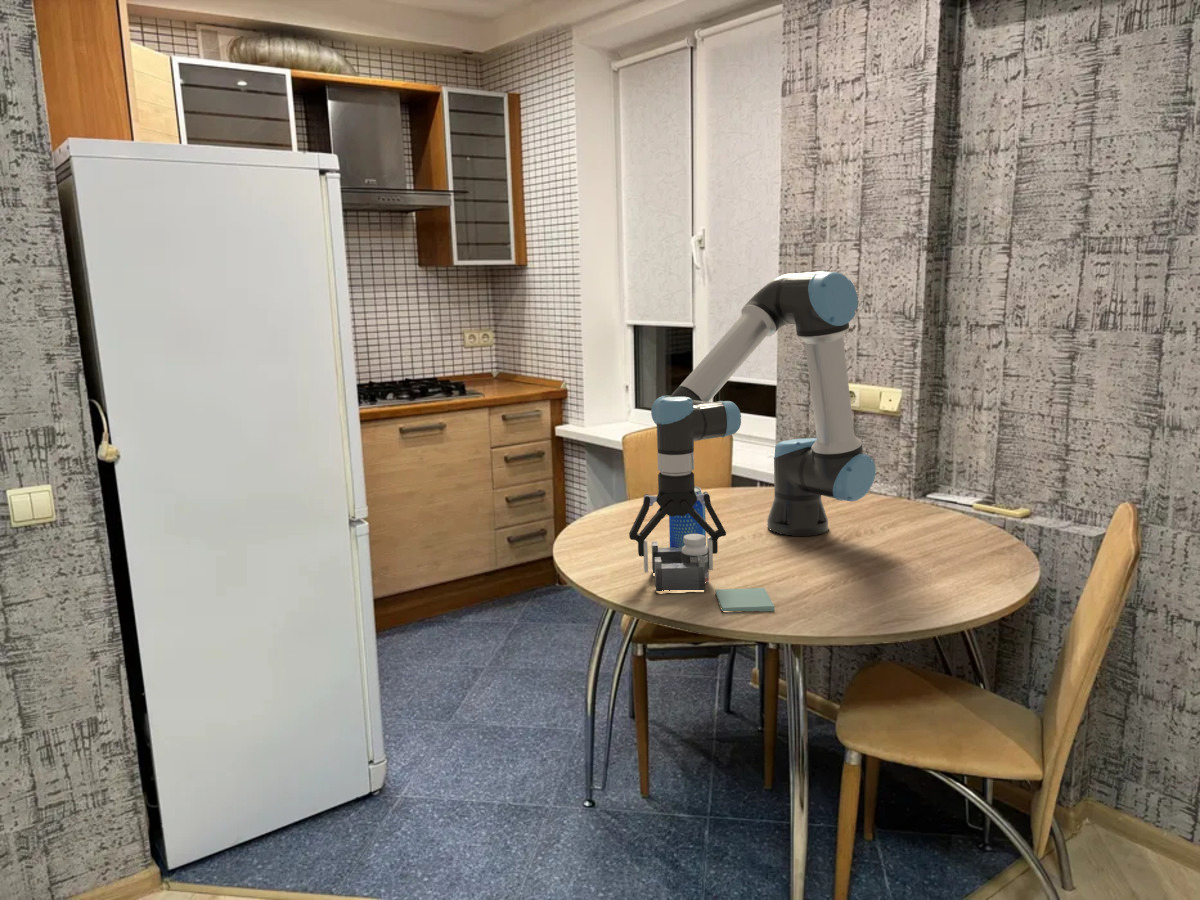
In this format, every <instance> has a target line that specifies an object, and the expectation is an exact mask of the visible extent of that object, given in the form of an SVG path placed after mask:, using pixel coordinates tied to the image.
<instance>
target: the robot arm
mask: <svg viewBox="0 0 1200 900" xmlns="http://www.w3.org/2000/svg"><path fill="white" fill-rule="evenodd" d="M858 299H859V298H858V294H857V289H856V288H855V285H854V283H853V282H852V280H851V279H850V278H848V277H847V276H846V275H845V274H843V273H841V272H837V271H826V270H822V271H811V272H810V271H809V272H808V271H807V272H798V273H797V272H791V273H789V272H788V273H786V274H783V275H780V276H778V277H776V278H774V279H773V280H771V281H770V282H768V283H767V284H765V285H764V286H763V287H762V288H760V290H758V291H757V292H756V293H755V294H754V295H753V296H752V297H751V298H750V299H749V301H747V303H746V304H745V305H744V306H743V307H742V309H741V312H740V313H741V316H740V317H739V318H738V319H737V320H736V321H735V322H734V324H733V325H731V327H730V328H729V329H728V330H727V332H726V333H725V334H724V335H723V336H722V337H721V338H720V339H719V341H717V343H716V344H715V345H714V346H713V348H711V350H710V351H709V352H708V353H707V354H706V356H704V358H702V359H701V361H699V363H698V364H697V366H696V367H695V368H694V369H693V370H692V371H691V372H690V373H689V374H688V376H686V378H685V379H684V380H683V381H682V382H681V384H680V385H679V386H678V387H677V388H676V389H675V390H674V391H673V392H672V394H670V395H669V394H667V395H661V396H660V397H657V399H655V400H654V402H653V404H652V405H651V410H650V411H651V412H650V413H651V420H653V421H652V422H654V424H655V425H656V441H657V443H656V445H657V446H656V448H657V471H659V473H658V474H657V483H658V484H657V485H658V487H657V488H658V492H657V495H649V494H648V493H645V494H644V495H643V500H642V501H643V502H642V506H641V507H640V510H639V512H638V514H637V516H636V518H635V520H634V522H633V524H632V526H631V528H630V531H629V533H628V536H629V539H630V540H631V541H636V542H637V555H638V556H639V557H643V571H644V573H649V557H648V555H649V554H648V553H649V551H648V550H649V549H648V548H649V547H648V540H647V538H648V536H649V535H650V534H651V532H653V531H654V530H655V528H656V527H657V525H659V523H660V522H661V521H662V520H664V518H665V517H666V516H668V517H669V516H676V515H679V516H685V515H686V514H688V513H689V514H690V515H691V516H692V517H693V518H694V519H695V520H696V521H697V522H698V523H699V525H700V526H701V527H702V528H703V529H704V530H705V531H706V534H708V535H709V536H706V547H707V548H708V558H709V571H713V570H714V568H713V566H714V565H713V564H714V560H713V559H714V558H713V557H714V556H713V555H714V554H716V555H717V554H718V552H719V550H718V549H719V548H718V547H719V546H718V544H719V543H718V540H719V539H720V538H721V537H726V535H727V531H726V530H725V527H724V526H723V524H722V522H721V520H720V518H719V516H718V515H717V513H716V511H715V510H714V507H713V506H712V501H711V496H710V494H709V493H708V491H704V492H702V494H698V495H696V494H695V491H694V486H695V473H694V472H693V471H694V470H695V459H694V458H695V451H694V450H695V445H694V444H695V442H697V441H703V440H709V439H710V440H711V439H717V438H725V437H728V436H733V435H735V434H736V433H737V432H738V431H739V430H740V428H741V426H742V414H741V410H740V409H739V407H738V405H736V403H734V402H733V401H730V400H724V401H723V400H718V401H711V400H712V399H713V398H714V397H715V395H717V394H718V393H719V391H720V390H722V388H723V387H724V385H725V384H726V383H727V382H728V381H729V380H730V379H731V378H732V376H733V375H734V374H735V373H736V372H737V371H738V369H740V367H741V366H742V365H743V364H744V363H745V361H746V360H747V359H748V358H749V357H750V356H751V354H752V353H753V352H754V351H755V350H756V349H757V348H758V346H759V345H760V344H761V343H762V342H763V341H764V340H765V338H766V337H772V336H773V335H775V334H776V332H777V331H779V329H780V328H782V327H784V326H786V325H795V331H796V332H795V333H796V336H797V338H799V339H800V340H801V341H802V342H804V347H805V348H804V349H805V354H806V355H805V357H806V363H807V364H806V365H807V371H808V380H809V387H810V396H811V403H812V404H811V405H812V409H813V411H812V412H813V420H814V427H815V434H816V435H815V436H816V437H815V438H814V437H812V438H811V437H809V438H808V437H807V438H794V439H788V440H783V441H779V442H778V443H777V444H775V448H774V457H773V475H774V476H773V477H774V478H773V479H774V480H773V482H774V484H773V485H774V486H773V487H774V497H773V498H774V499H773V502H772V506H771V507H770V511H769V513H768V517H767V523H766V525H767V526H768V527H767V529H768V528H769V529H771V530H772V531H774V532H773V533H775V532H777V533H776V534H778V533H781V534H780V535H782V534H785V536H789V535H792V537H793V536H794V537H810V536H811V537H812V536H818V535H823V534H824V533H826V532H827V531H829V520H828V517H827V516H828V515H827V514H826V510H825V507H824V504H823V502H822V500H823V499H822V496H823V497H826V498H830V499H835V500H837V501H845V502H856V501H859V500H861V499H862V498H863V497H865V496H866V495H867V494H868V493H869V491H870V489H871V487H872V486H873V484H874V481H875V479H876V474H877V473H876V472H877V471H876V470H877V468H876V463H875V460H874V459H873V458H872V457H871V456H870V455H868V454H866V453H864V449H863V442H862V439H860V438H859V437H858V436H856V435H855V429H854V421H853V420H854V419H853V413H852V404H851V402H852V401H851V394H850V384H849V377H848V367H847V358H846V351H845V342H844V336H845V335H846V333H847V332H848V330H849V329H850V322H851V321H852V320H853V319H854V317H855V316H856V311H857V310H858V304H859V301H858ZM697 500H699V501H700V502H701V504H705V509H706V510H707V512H708V514H709V516H710V517H711V519H712V521H713V524H714V525H715V527H716V528H717V530H715V529H713V527H712V526H711V525H710V524H709V523H708V522H707V521H705V520H704V519H703V518H702V517H701V516H700V515H699V514H698V512H697V511H696V510H695V509H694V508H693V506H694V504H695V503H696V501H697ZM654 503H657V504H658V505H659V508H658V509H657V510H656V513H654V515H653V516H652V517H651V519H650V520H649V521H648V522H647V524H646V525H645V526H644V527H643V528H642V529H641V531H640V528H641V526H642V524H643V522H644V520H645V518H646V516H647V514H648V512H649V510H650V507H653V505H654ZM769 529H768V530H769ZM639 531H640V532H639ZM772 531H771V532H772Z"/></svg>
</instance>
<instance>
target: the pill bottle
mask: <svg viewBox="0 0 1200 900" xmlns="http://www.w3.org/2000/svg"><path fill="white" fill-rule="evenodd" d="M705 543H706V544H707V536H706V537H705V536H704V535H701V534H688V535H685V536H684V544H685V546H683V548H682V551H681V554H682V563H697V556H703V557H704V560H705V582H707V581H708V582H709V579H710V577H709V576H710V574H709V572H710V570H709V558H708V548H707V545H706V546H705ZM708 582H707V583H708Z"/></svg>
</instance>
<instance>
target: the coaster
mask: <svg viewBox="0 0 1200 900" xmlns="http://www.w3.org/2000/svg"><path fill="white" fill-rule="evenodd" d="M715 592H716V594H715V596H716V595H717V597H716V599H717V598H718V600H717V602H718V601H719V602H718V604H719V603H720V605H719V607H720V606H721V608H722V610H721V612H722V611H759V612H775V605H774V602H773V601H772V599H771V598H770V596H769V594H768V592H767V590H766V588H765V587H754V588H753V587H752V588H729V589H728V588H725V589H723V588H722V589H720V588H719V589H715ZM715 592H714V593H715ZM721 608H720V609H721Z"/></svg>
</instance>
